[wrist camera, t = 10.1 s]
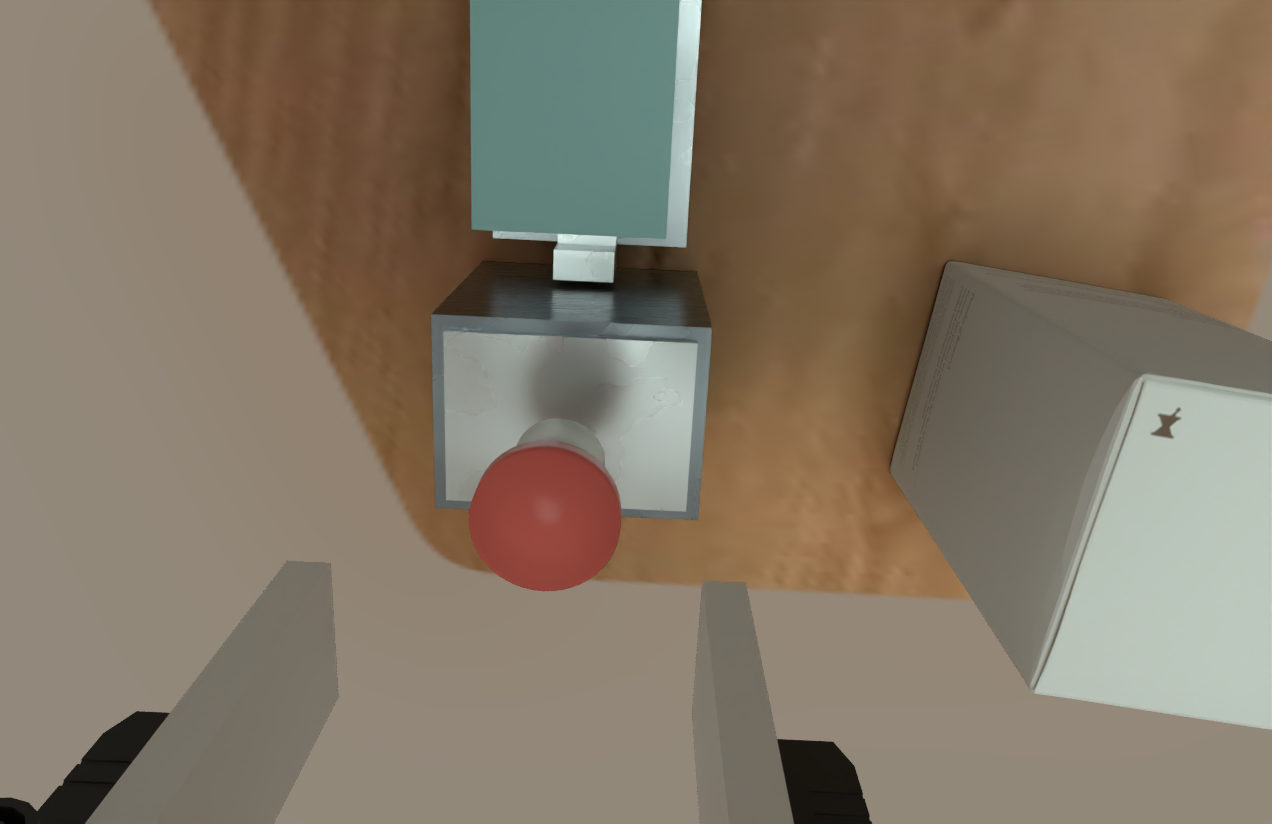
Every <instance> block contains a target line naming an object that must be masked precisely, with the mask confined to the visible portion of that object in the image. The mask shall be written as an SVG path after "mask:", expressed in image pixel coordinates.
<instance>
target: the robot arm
mask: <svg viewBox="0 0 1272 824" xmlns="http://www.w3.org/2000/svg"><path fill="white" fill-rule="evenodd" d="M699 617H700V618H699V630H698V642H697V655H696V668H695V681H694V694H693V707H692V721H693V734H694V749H695V764H696V778H697V792H698V806H699V820H700V824H872V822H871V821H870V820H869V812H868V809H867V806H866V802H865V799H863V796H862V795H863V793H862V789H861V787H860V783H859V780H858V776H857V774H856V770H855V767H854V765H853V764H852V763H851V762H850V761H849V759H848V758H847V757H846V756H845V755H844V754H843V753H842V752H841V750H840V749H839V748H838V747H837V746H836V745H835V744H834V742H825V741H804V740H783V739H777V737H776V732H775V727H774V722H773V717H772V712H771V707H770V702H769V697H768V692H767V687H766V682H765V677H764V672H763V667H762V662H761V657H760V652H759V646H758V641H757V636H756V632H755V626H754V622H753V617H752V611H751V607H750V602H749V597H748V591H747V586H746V583H740V582H719V581H702V591H701V603H700V616H699ZM335 645H336V644H335V628H334V611H333V595H332V577H331V563H323V562H322V563H321V562H302V561H287V562H286V563H285V564H284V566H283V567H282V568H281V569H280V571H279V572H278V573H277V575H276V576H275V577H274V578H273V580H272V581H271V582H270V584H269V585H268V586H267V588H266V589H265V590H264V591H263V593H262V594H261V595H260V597H259V598H258V599H257V601H256V602H255V603H254V605H253V606H252V607H251V608H250V610H249V611H248V612H247V614H246V615H245V616H244V618H243V619H242V620H241V622H240V623H239V624H238V625H237V627H236V628H235V629H234V630H233V632H232V633H231V634H230V636H229V637H228V638H227V640H226V641H225V642H224V643H223V645H222V646H221V648H220V649H219V650H218V651H217V653H216V654H215V655H214V656H213V658H212V659H211V660H210V662H209V663H208V664H207V666H206V667H205V668H204V670H203V671H202V672H201V673H200V675H199V676H198V677H197V679H196V680H195V681H194V682H193V684H192V685H191V686H190V688H189V689H188V690H187V692H186V693H185V694H184V695H183V697H182V698H181V699H180V701H179V702H178V703H177V705H176V706H175V707H174V709H173V710H172V711H171V713H161V712H159V713H158V712H139V711H137V712H135V713H134V714H132V715H131V716H129V717H128V718H126V719H124V720H123V721H121V722H120V723H118V724H117V725H115V726H114V727H112V728H111V729H109V730H108V731H106V732H105V733H103V734H102V736H101V737H100V738H99V739H98V740H97V742H96V743H95V744H94V745H93V746H92V748H91V749H90V750H89V751H88V752H87V753H86V754H85V756H84V757H83V758H82V762H81V764H77V765H76V766H75V768H74V769H73V770H72V771H71V772H70V773H69V774H68V776H67V777H66V778H65V779H64V783H63V785H62V786H58V787H57V789H56V790H55V791H54V792H53V793H52V795H51V796H50V797H49V798H48V799H47V800H46V802H45V803H44V804H43V805H42V806H41V807H40V809H39V810H38V811H36V810H35V809H34V808H33V807H32V806H31V805H30V803H28V802H25V801H21V800H18V799H14V798H0V824H274V823H275V821H276V818H277V817H278V815H279V813H280V811H281V809H282V807H283V805H284V803H285V801H286V799H287V797H288V795H289V793H290V791H291V789H292V787H293V785H294V783H295V781H296V779H297V778H298V776H299V774H300V772H301V770H302V767H303V766H304V764H305V762H306V760H307V758H308V756H309V754H310V752H311V750H312V748H313V746H314V744H315V742H316V740H317V738H318V736H319V734H320V732H321V731H322V729H323V726H324V725H325V722H326V721H327V719H328V717H329V715H330V713H331V711H332V709H333V707H334V705H335V703H336V701H337V699H338V697H339V695H338V678H337V661H336V646H335Z"/></svg>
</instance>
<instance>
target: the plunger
mask: <svg viewBox="0 0 1272 824" xmlns="http://www.w3.org/2000/svg"><path fill="white" fill-rule="evenodd" d="M620 524H621V501H620V495H619V492H618V489H617V486H616V484H615V482H614V480H613V478H612V476H611V475H610V473H609V472H608V470H607V469H606V468H605V456H604V451H603V448H602V446H601V444H600V442H599V440H598V439H597V437H596V436H595V435H594V434H593V433H592V432H591V431H590V430H589V429H588V428H586V427H585V426H584V425H582V424H580V423H578V422H575V421H572V420H568V419H561V418H554V419H548V420H544V421H541V422H539V423H536V424H535V425H533V426H531V427H530V428H529V429H527V430H526V431H525V432H524V433H523V435H522V436H521V437H520V439H519V441H518V443H517V445H516V446H515V447H513V448H511V449H509V450H507V451H506V452H504V453H502V454H501V455H500V456H499V457H497V458H496V459H495V460H494V461H493V462H492V463H491V464H490V465H489V467H488V468H487V469H486V471H485V472H484V474H483V476H482V478H481V479H480V482H479V484H478V486H477V489H476V491H475V493H474V496H473V499H472V501H471V505H470V510H469V529H470V534H471V538H472V541H473V543H474V546H475V548H476V550H477V552H478V554H479V555H480V557H481V558H482V559H483V561H484V562H485V563H486V564H487V565H488V567H489V568H490V569H491V570H493V571H494V572H495V573H496V574H497V575H499V576H500V577H502V578H503V579H505V580H507V581H509V582H510V583H513V584H515V585H517V586H520V587H523V588H527V589H531V590H538V591H556V590H563V589H567V588H571V587H574V586H576V585H579V584H581V583H583V582H585V581H587V580H589V579H590V578H592V577H593V576H594V575H596V574H597V573H598V572H599V571H600V570H601V569H602V568H603V567H604V566H605V565H606V564H607V562H608V561H609V560H610V558H611V556H612V555H613V553H614V551H615V548H616V546H617V543H618V539H619V534H620Z"/></svg>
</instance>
